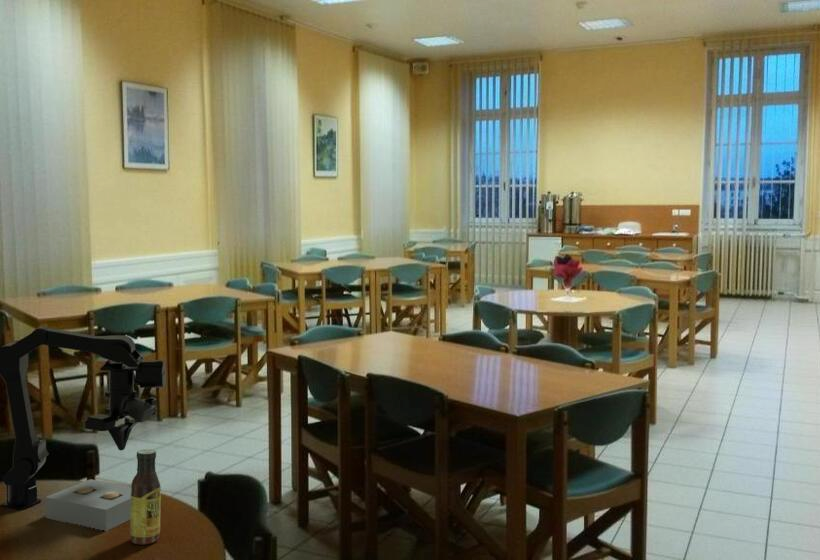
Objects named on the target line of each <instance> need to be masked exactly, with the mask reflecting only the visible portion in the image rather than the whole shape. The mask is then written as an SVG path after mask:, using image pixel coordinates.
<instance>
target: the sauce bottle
mask: <svg viewBox="0 0 820 560" xmlns="http://www.w3.org/2000/svg"><path fill="white" fill-rule="evenodd" d="M136 459H137V466H136V467H137V468H136V471H137V472H136V474H135V476H134V477H133V479H132V481H131V486H130V487H131V512H130V520H129V521H130V523H129V524H130V525H129V535H130V541H131V543H133V544H135V545H140V546H144V545H150V544H153V543H156V542H157V541H158V540H159V538H160V533H161V503H162V502H161V499H162V498H161V495H162V494H161V491H162V486H161V482H160V480H159V477H158V474H157V471H156V459H157V451H156V450H155V449H152V448H146V449H140V450H138V451H136Z"/></svg>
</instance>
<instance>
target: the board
mask: <svg viewBox="0 0 820 560" xmlns="http://www.w3.org/2000/svg"><path fill="white" fill-rule="evenodd" d="M85 486H89V487H93V491H92V492H91V493H89V494H86V495H83V494H78V493H77V489H78V488H80V487H85ZM107 492H119V497H118V498H116V499H114V500H107V499H104V498H103V494H104V493H107ZM130 512H131V486H128V485H124V484H118V483H112V482H108V481H103V480H102V481H101V480H99V479H92V478H90V479H87V480H85V481H83V482H80V483H77V484H75V485H73V486H70V487H68V488H65V489H62V490H60V491H58V492H55V493H52V494H50V495H47V496H46V497H45V519H50V520H53V521H58V522H63V523H66V522H69V523H68V524H71V523H73V524H72V525H75V524H78V525H77V526H80V525H82V526H81V527H84V526H86V527H85V528H89V527H91V528H90V529H93V528H95V530H98V529H99V531H102V530H104V531H103V532H108V531H110V530H112V529H114V528H116V527H118V526H119V525H122V524H124V523H126V522H128V521H130ZM109 529H110V530H109Z"/></svg>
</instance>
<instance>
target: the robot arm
mask: <svg viewBox="0 0 820 560" xmlns="http://www.w3.org/2000/svg"><path fill="white" fill-rule="evenodd" d="M42 346H50V347H56V348H62V349H66V350H67V349H69V350H74V351H80V352H84V353H85V352H86V353H91V354H94V355H97V356H99V357H100V358H102V359H104V360H106V361H105V363H104V364H103V365H102V366H100V367H99V370H100V371H101V372H103V371H104V372H105V371H107V372H108V391H105V393H104V397H105V398H108V408H105V409H104V413H105V414H102V413H101V414H100V413H97V414H93V415H90V416H87V418H85V419H84V429H86V430H92V431H98V432H107V431H108V433H109V434H110V436H111V437H112V440H113V442H114V444H115V445H116V447H117V450H119V451H124V450H125V449H126V446H127V444H128V440H129V438H130V435H131V431H132V429H133V428H134V427H135V426H137V424H139V423H143V422H144V421H147V420H151V419H152V417H153V416H155V415H156V413H157V411H158V409H157V408H158V401H157V398H155V397H153V396H151V397H148V398H147V399H145V398H143V399H142V398H139V392H138V390H134V389H135V387H134V386H135V384H136V386H139V388H141V389H143V388H144V389H145V388H146V389H147V388H148V389H149V388H150V389H152V388H163V389H164V388H165V386H166V379H167V378H166V377H167V371H166V366H165V360H164V359H157V360H145V359H144V357H143V356H142V355H141V354H140V353H139V351H138V350H137V349H136V344H135V341H134V340H133V339H132V337H130V336H127V335H93V334H86V333H80V332H74V331H69V330H64V329H63V330H62V329H56V328H51V327H48V326H46V325H45V326H39V327H37V328H36V329H33V331H32V332H30V333H29V334H28V335H26V336H24V337H22V338H21V339H20V340H18V341H12V342H9V343H7V344H4V345H3V346H1V347H0V378H1V379H2V380H3V381H4V383H5V387H6V388H5V389H6V393H7V399H8V404H9V410H10V415H11V422H12V428H13V434H14V439H15V440H14V445H13V452H12V468H11V469H9V470H8V471H7V472H6V473H5V474H4V475H3V476H2V481H3V483H4V485H5V486H6V501H5V502H2V503H0V504H1V506H2V507H6V508H10V509H15V510H24V509H27V508H29V507H30V506H33V505H36V504H39V503H41V502H42V499H41V498H38V485H37V478H35V475H36V474H37V473H38V471H39V470H40V469H41V468H42V466H43V465H44V464H45V463H46V461H47V456H49V454H50V453H49V451H48V449H47V441H46V439H45V438H43V439H39V437H38V435H37V433H36V429H35V425H34V424H35V423H34V419H33V417H34V416H33V412H32V405H31V401H30V396H29V395H30V394H29V388H28V383H27V375H28V369H29V354H30V353H32V352H34V351H35V350H36V349H38V348H39V347H42ZM134 383H135V384H134ZM108 414H109V415H108Z"/></svg>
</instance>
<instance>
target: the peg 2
mask: <svg viewBox="0 0 820 560" xmlns="http://www.w3.org/2000/svg"><path fill="white" fill-rule="evenodd" d="M118 497H119V492H107V493H104V494H103V498H104V499H107V500H114V499H116V498H118Z"/></svg>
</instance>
